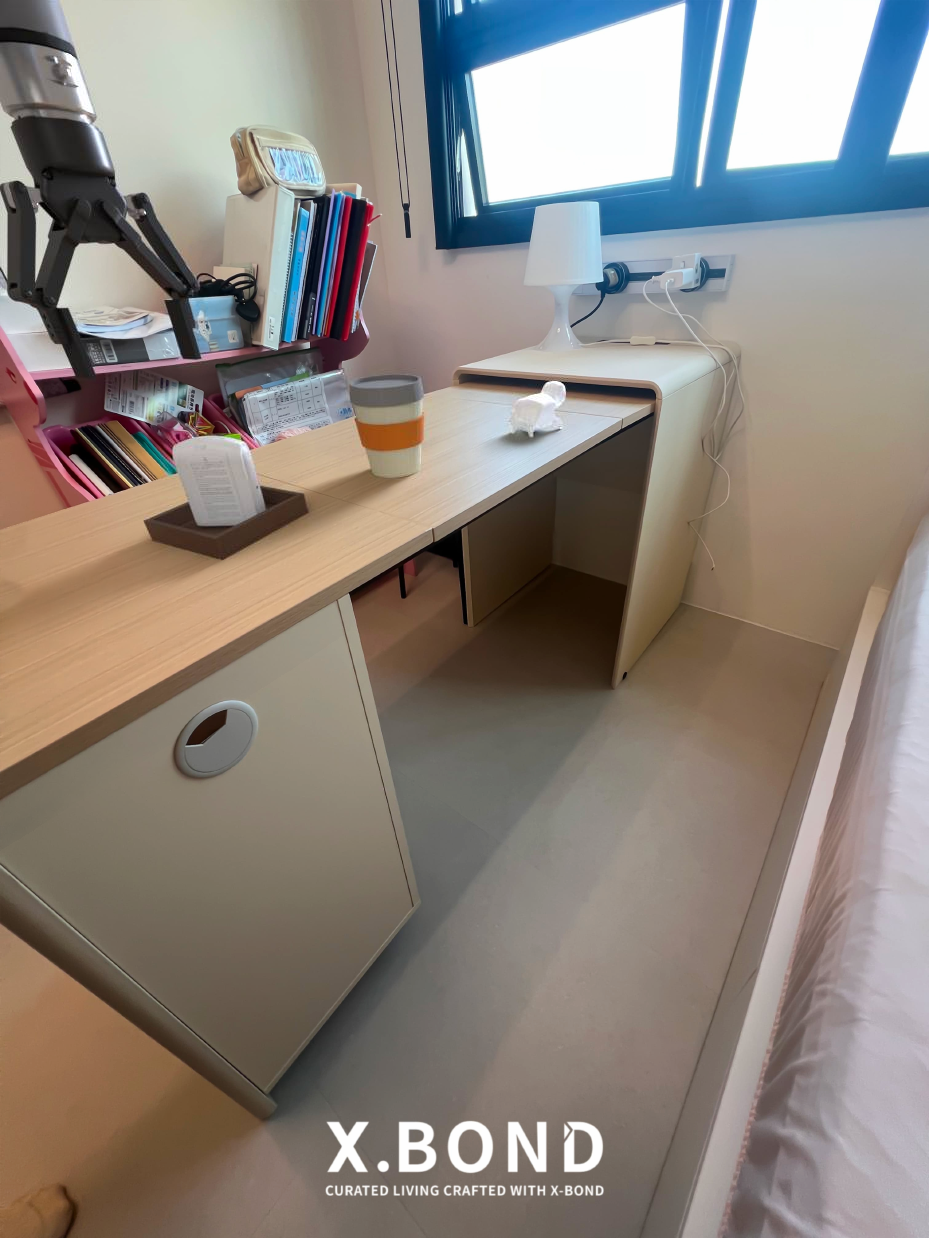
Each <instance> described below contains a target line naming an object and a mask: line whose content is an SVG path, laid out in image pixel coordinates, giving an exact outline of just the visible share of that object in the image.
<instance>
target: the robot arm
mask: <svg viewBox="0 0 929 1238" xmlns="http://www.w3.org/2000/svg"><path fill="white" fill-rule="evenodd" d="M0 106H1V109H2V111H3V112H4V113H5V114H7V115H8V116H9V117H10V118H13V120H12V121H11V125H10V130H11V132H12V136H13V137H14V140H15V143H16V145H17V148H18V151H19V154H20V155H21V158H22V160H23V162H24V165H25V167H26V169H27V171H28V172H29V174H30V175H31V177H32V179H33V180H32V181H33V186H28V185H26V184H24V183H23V181H21V180H12V181H7V182H2V183H1V184H0V195H1V198H2V201H3V204H4V206H5V207H4V208H5V209H6V212H7V213H6V215H7V219H6V220H7V223H6V224H7V225H6V227H7V228H6V229H7V231H6V232H7V233H6V235H7V237H6V241H7V242H6V243H7V244H6V245H7V246H6V247H7V248H6V293H7V296H8V298H10V299H11V300H12V301H13V302H17V303H23V304H27V305H29V306H30V307H31V308H34V309H36V310H37V312H38V314H39V316H40V319H41V321H42V322H43V325H44V327H45V329H46V332H47V334H48V336H49V339H50V340H51V342H52V343H54V345H61V346H62V348H63V351H64V353H65V355H66V358H67V361H68V362H69V365H70V368H71V369H72V372H73V374H74V376H75V378H79V379H96V378H97V377H98V376H97V373H96V372H95V368H94V366H93V364H92V362H91V360H90V357H89V354H88V352H87V350H86V348H85V344H84V342H83V340H82V338H81V335H80V333H79V329H78V328H77V325H76V323H75V321H74V318H73V315H72V313H71V310H70V308H69V307H58V304H59V301H60V298H61V296H62V292H63V289H64V285H65V283H66V279H67V276H68V273H69V270H70V266H71V264H72V261H73V257H74V253H75V251H76V249H77V247H78V246H79V245H80V244H82V245H83V244H96V243H97V244H100V245H110V244H111V245H112V244H114V245H115V246H116V247H118V248H119V249H121V250H123V251H124V252H125V253H126V254H127V255H128V256H129V257H130V258H131V259H132V260H133V261H134V262H135V263H136V264H137V265H138V267H140V269H142V270H143V271H144V272H145V273H146V274H147V275H148V276H149V277H150V278H151V279H152V280H153V281H154V282H155V283H156V284H157V285H158V286H159V287H160V289H162V290H163V292H165V294H166V295H167V296H169V298H171V299H164V304H165V308H166V310H167V314H168V317H169V320H170V323H171V326H172V329H173V333H174V335H175V340H176V343H177V345H178V348H179V351H180V354H181V358H182V360H192V361H193V360H195V361H198V360H202V359H203V358H202V355H201V351H200V349H199V345H198V342H197V338H196V335H195V332H194V329H196V327H197V326H196V324H197V323H196V319H195V316H194V314H193V310H192V307H191V303H190V299H192V298H193V297H194V293H195V292H199V291H200V290H201V285H200V283H199V281H198V279H197V277H196V276H195V274H194V273H193V271H192V270H191V268H190V267H189V265H188V264H187V262H186V261H185V259H184V258H183V256H182V254H181V252H180V251H179V249H178V248H177V247H176V246H175V244H174V242H173V241H172V239H171V237H170V236H169V235H168V233H167V231H166V230H165V228H164V226H163V225H162V224H161V221H159V219H158V217H157V214H156V211H155V209H154V206H153V204H152V201H151V199H150V196H149V195H148V194H147V193H146V192H137V193H132V194H131V193H130V194H128V195H123V194H122V192H121V191H120V189H119V187H118V185H117V183H116V171H115V170H116V169H115V167H114V164H113V160H112V157H111V154H110V151H109V148H108V146H107V142H106V139H105V136H104V133H103V132H102V131H101V130H100V129H99V127H97V126H96V125H94V123H95V121H97V118H98V117H97V113H96V110H95V107H94V104H93V101H92V97H91V95H90V92H89V88H88V85H87V82H86V79H85V76H84V73H83V69H82V67H81V63H80V60H79V58H78V56H77V52H76V48H75V45H74V42H73V39H72V36H71V32H70V30H69V26H68V23H67V20H66V17H65V13H64V10H63V7H62V3H61V1H60V0H0ZM39 206H40V208H41V209H43V211H44V212H45V213H46V214H47V215H48V216H49V217H50V218H51V219H52V221H51V224H50V226H49V230H48V234H47V239H48V241H47V243H46V244H47V245H46V248H45V250H44V254H43V257H42V261H41V264H40V267H39V270H38V273H37V276H36V272H37V271H36V269H37V268H36V267H37V266H36V264H37V263H36V262H37V261H36V260H37V259H36V256H37V216H36V214H37V213H38V212H39ZM127 215H128V217H130V218H132V219H133V220H134V222H135V224H136V226H137V228H138V229H139V230H140V232H141V234H142V236H143V237H144V238H145V240H146V241H147V242H148V244H149V246H150V247H151V248H152V249H151V248H150V247H149V246H148V245H147V244H146V243H145V242H144V241H143V239H142V236H141V234H140V233H139V232H138V231H137V230H136V228H134V226H132V225H131V223H130V222H129V221H128V220H127Z"/></svg>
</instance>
